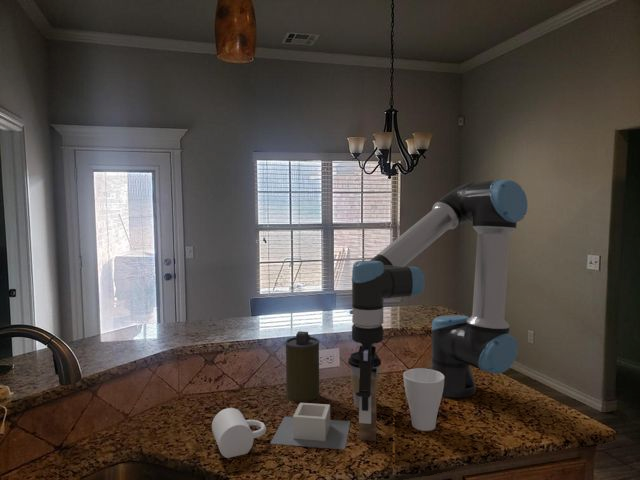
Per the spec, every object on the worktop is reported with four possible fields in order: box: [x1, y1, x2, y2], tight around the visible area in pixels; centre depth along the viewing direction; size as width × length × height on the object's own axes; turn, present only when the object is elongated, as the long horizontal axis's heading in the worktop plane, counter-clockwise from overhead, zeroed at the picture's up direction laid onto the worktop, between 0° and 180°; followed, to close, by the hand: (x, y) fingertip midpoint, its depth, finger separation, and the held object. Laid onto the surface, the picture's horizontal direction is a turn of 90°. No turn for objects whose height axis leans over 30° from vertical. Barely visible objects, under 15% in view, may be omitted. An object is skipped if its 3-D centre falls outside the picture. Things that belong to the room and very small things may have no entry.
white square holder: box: [292, 402, 331, 441], centre depth 110 cm, size 8×8×6 cm
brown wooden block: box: [358, 373, 377, 442], centre depth 107 cm, size 4×4×16 cm
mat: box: [269, 416, 351, 450], centre depth 110 cm, size 18×14×1 cm
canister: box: [284, 331, 321, 403], centre depth 132 cm, size 11×10×20 cm
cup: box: [402, 367, 445, 432], centre depth 114 cm, size 10×10×14 cm
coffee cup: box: [347, 351, 382, 409], centre depth 125 cm, size 9×9×15 cm
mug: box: [211, 407, 267, 459], centre depth 104 cm, size 12×10×8 cm
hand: (366, 409), depth 107 cm, fingers open, 13 cm apart
